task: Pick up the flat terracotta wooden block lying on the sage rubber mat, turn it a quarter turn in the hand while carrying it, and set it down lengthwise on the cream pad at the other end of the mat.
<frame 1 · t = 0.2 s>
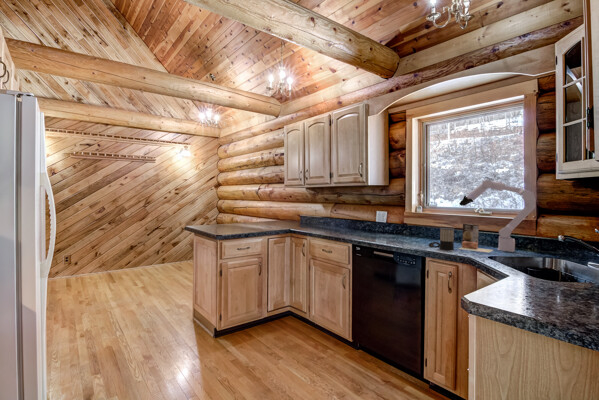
hand: (461, 204, 229), 31 cm above the worktop, tool tilted 45°, fingers open, 7 cm apart
milk frother: (441, 248, 215), on the worktop
block: (469, 247, 217), resting on mat
coffee box: (470, 245, 232), on the worktop
mat: (475, 249, 211), on the worktop
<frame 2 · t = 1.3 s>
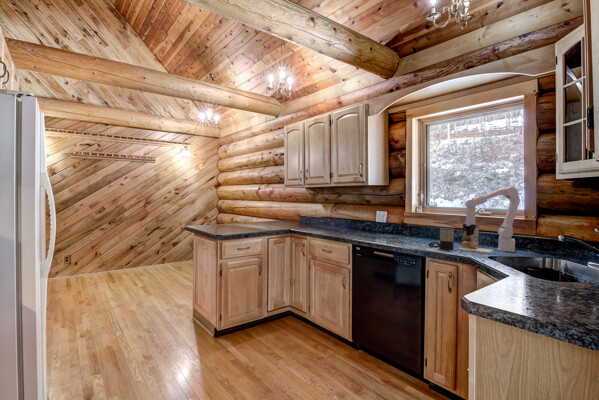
hand: (470, 235, 217), 9 cm above the worktop, tool pointing down, fingers open, 7 cm apart
nothing on the worktop moved.
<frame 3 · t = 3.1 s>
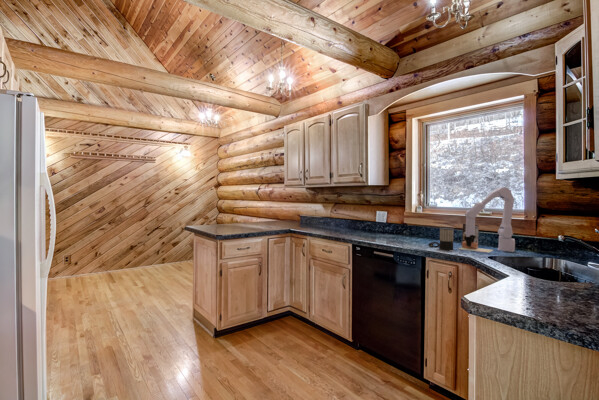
hand: (469, 245, 217), 2 cm above the worktop, tool pointing down, fingers closed on block, 5 cm apart
block: (469, 247, 217), resting on mat, touching gripper
everything else where it was.
when the fingers open (4 cm above the worktop, at t = 7.2 s): block drops 2 cm, resting on mat.
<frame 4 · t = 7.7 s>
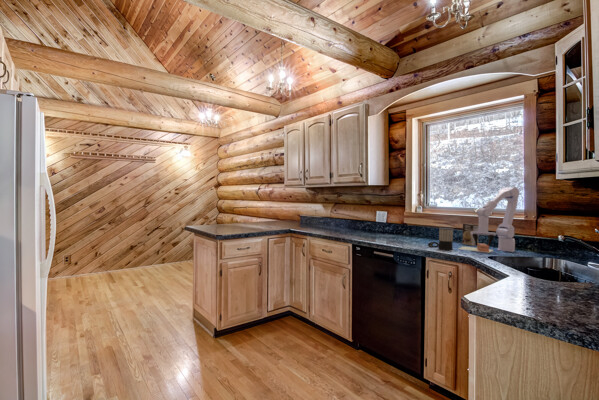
hand: (482, 245, 207), 4 cm above the worktop, tool pointing down, fingers open, 7 cm apart
block: (482, 250, 207), resting on mat
everything else where it was.
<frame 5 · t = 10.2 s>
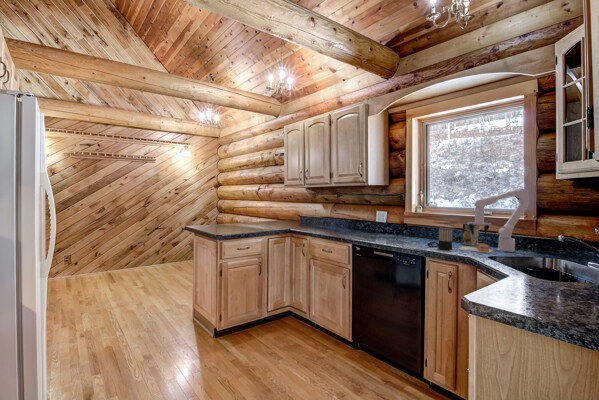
hand: (478, 235, 218), 9 cm above the worktop, tool pointing down, fingers open, 7 cm apart
nothing on the worktop moved.
at the end: block 0.0 cm from the target spot on the mat, point 0.5 cm above the mat's base; block tilted 0°; the gripper is holding nothing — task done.
